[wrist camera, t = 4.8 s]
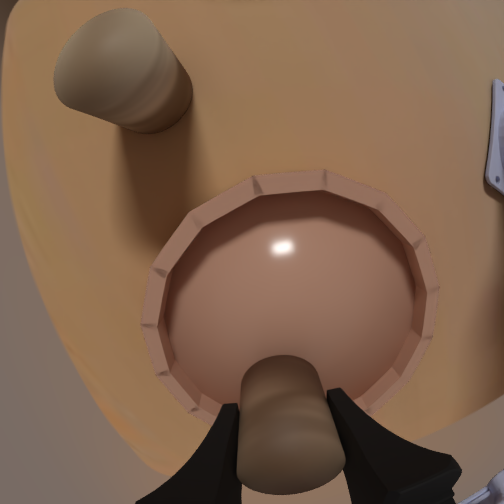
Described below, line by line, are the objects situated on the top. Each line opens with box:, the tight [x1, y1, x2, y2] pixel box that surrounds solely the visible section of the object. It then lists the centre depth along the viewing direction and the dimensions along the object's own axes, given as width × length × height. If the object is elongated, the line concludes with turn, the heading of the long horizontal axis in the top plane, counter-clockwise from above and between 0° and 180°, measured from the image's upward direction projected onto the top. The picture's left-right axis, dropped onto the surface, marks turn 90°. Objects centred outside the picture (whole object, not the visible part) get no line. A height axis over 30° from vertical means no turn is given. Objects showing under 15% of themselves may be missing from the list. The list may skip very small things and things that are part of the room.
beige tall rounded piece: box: [54, 8, 192, 134], centre depth 9 cm, size 4×4×6 cm
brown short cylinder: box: [237, 355, 346, 495], centre depth 11 cm, size 4×4×6 cm
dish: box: [141, 169, 440, 425], centre depth 14 cm, size 15×15×2 cm
